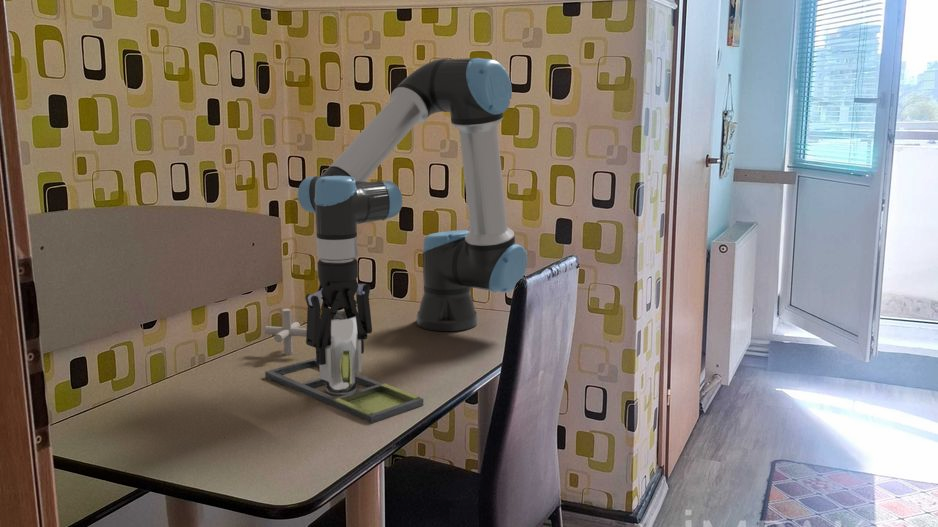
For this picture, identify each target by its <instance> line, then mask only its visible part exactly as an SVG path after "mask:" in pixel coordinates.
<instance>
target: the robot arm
mask: <svg viewBox="0 0 938 527" xmlns="http://www.w3.org/2000/svg"><path fill="white" fill-rule="evenodd" d="M512 89H513V88H512V83H511V79H510V76H509V73H508V72H507V70H506V68H505V67H504V66H502V64H501V63H500V62H499V61H497V60H495V59H492V58H482V57H471V58H450V59H448V58H439V59H436V60H432V61H429V62H428V63H425V64H424V65H422V66H420V67H418V68H417V69H416V70H414V71H413V72H411V73H410V74H409V75H407V77H406V78H404V79H403V80H402V81H401V82H400V83H399V84H398V85H397V86H396V87H395V88H394V90H392V92H391V94H390V101H388V103H387V104H386V105H385V106H384V107H383V108H382V109H381V110H380V111H379V112H378V114H377V115H375V116H374V118H373V119H372V120H371V121H370V122H369V123H368V124H367V125H366V127H364V129H363V130H362V131H361V132H360V133H359V134H358V135H357V137H356V138H354V139H353V140H352V141H351V143H350V144H349V145H348V146H347V147H346V148H345V149H344V150H343V151H342V152H341V153H340V154H339V155H338V157H336V159H335V160H334V161H333V162H332V163H331V164H330V166H329V167H328V168H327V169H326V170H325V171H324V172H323V173H322V174H321V175H320V176H318V175H314V176H309V177H307V178H304V179H303V180H302V181H301V183H300V184H299V185H298V190H297V199H298V200H297V201H298V203H299V205H300V207H301V208H302V209H303V210H304V211H305V212H308V213H312V214H315V229H316V250H317V251H316V254H317V258H318V259H319V260H318V261H317V278H318V282H319V286H318V289H317V291H316V292H314V293H312V294H310V293H308V294H305V301H306V306H307V314H306V317H307V318H306V329H307V333H306V337H305V338H306V340H305V343H306V344H305V345H307V346H309V347H312V348H315V355H316V356H315V358H316V362H317V363H318V364H319V366H320V368H319V378H321V379H323V380H326V381H328V382H329V381H332V378H331V348H329V347H327V343H328V339H329V335H330V319H334V315H335V314H336V313H337V311H339V310H338V309H340V308H343V311H345V314H346V316H347V319H348V318H352V317H354V316H355V313H356V314H357V325H358V349H357V356H356V362H355V373H356V372H357V373H361V372H362V373H363V366H362V365H363V364H362V363H363V362H362V360H363V359H362V357H363V356H362V354H364V351H365V346H364V345H365V342H364V341H365V340H367V339H368V334H371V333H372V332H373V326H372V325H373V324H372V319H371V318H372V317H371V316H372V315H371V314H372V313H371V306H370V290H371V286H370V285H369V284H366V283H361V282H359V283H358V281H357V279H358V277H359V268H358V267H359V265H358V264H359V263H358V260H357V257H358V254H359V253H358V225H360V224H366V223H372V222H377V221H385V220H388V219H392V218H395V217H396V216H397V215H398V214H399V213H400V212H401V209H402V207H403V195H402V192H401V190H400V188H399V186H398V185H397V184H396V183H394V182H393V181H389V180H384V181H383V180H376V181H367V180H368V179H369V178H370V177H371V175H372V174H373V173H374V172H375V171H376V170H377V169H378V167H379V166H380V165H382V163H383V162H384V161H385V160H386V159H387V157H388V156H389V155H390V154H391V153H392V152H393V150H394V149H395V148H396V147H397V146H398V145H399V144H400V143H401V141H402V140H403V139H404V138H405V137H406V136H407V134H408V133H409V132H410V131H411V130H412V129H413V128H414V127H415V125H416V124H422V123H424V122H425V121H426V120H427V119H428V118H429V117H430V116H431V115H433V114H436V113H442V112H443V113H449V115H450V122H451V125H453V127H454V128H456V129H457V130H458V132H459V139H460V140H459V141H460V149H461V150H460V151H461V160H462V166H463V167H462V168H463V175H464V184H465V194H466V201H467V202H466V203H467V210H468V219H469V227H470V228H469V229H470V230H465V229H464V230H463V229H462V230H459V229H458V230H448V231H440V232H435V233H434V232H433V233H430V234H427V235H426V236H425V237H424V240H423V246H422V247H423V248H422V249H423V250H422V266H423V267H422V268H423V270H422V272H423V273H422V274H423V295H422V298H421V301H420V305H419V310H418V311H417V312H416V325H417V326H418V327H420V328H421V329H425V330H430V331H437V332H457V331H463V330H469V329H472V328H474V327H476V326H477V324H478V313H477V311H476V310H475V305H474V300H473V298H472V294H471V288H473V289H479V290H484V291H488V292H492V293H503V294H504V293H510V292H512V291H514V290H515V289H514V287H515V285H516V283H517V282H518V281H519V280H520V279H521V278H522V279H523V278H524V275H525V273H526V270H527V266H528V265H527V264H528V254H527V251H526V249H525V248H524V246H522V245H520V244H519V243H516V236H515V232H514V231H513V230H512V229H511V228H510V227H509V226H508V222H507V221H508V220H507V213H506V212H507V210H506V200H505V193H504V191H505V190H504V181H503V173H502V172H503V171H502V162H501V160H502V159H501V153H500V152H501V151H500V150H501V149H500V142H499V131H498V130H499V129H498V127H499V125H500V124H501V122H502V121H503V119H504V112H505V111H507V110H508V108H509V106H510V105H511V101H510V100H511V99H512V96H513V92H512V91H513V90H512ZM355 298H356V299H355Z"/></svg>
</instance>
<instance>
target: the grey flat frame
mask: <svg viewBox="0 0 938 527" xmlns="http://www.w3.org/2000/svg"><path fill="white" fill-rule="evenodd" d="M312 367H315V368H319V369H320V366H319V364H318V363H317V362H316V357H315V358H312V359H308V360H305V361H300V362H297V363H292V364H289V365H285V366H280V367H277V368H274V369H270V370H266V371H264V377H265V378H267V379H269V380H271V381H273V382H276V383H278V384H281V385H282V386H285V387H287V388H288V389H289V388H290V389H292V390H294V391H296V392H298V393H301V394H303V395H305V396H308V397H310V398H312V399H315V400H317V401H319V402H322V403H324V404H326V405H328V406H330V407H333V408H335V409H337V410H340V411H343V412H345V413H347V414H349V415H351V416H354V417H357V418H358V419H360V420H363V421H366V422H368V423H370V424H373V423H376V422H378V421H382V420H384V419H387V418H390V417H394V416H396V415H399V414H402V413H404V412H407V411H411V410H414V409H416V408H419V407H423V406H424V398H422V397H420V396H419V395H416V394H413V393H412V392H409V391H406V390H404V389H400V388H399V387H395V386H393V385H391V384H387V383H382V382H379V381H377V380H374V379H371V378H369V377H366V376H365V375H364V376H363V375H362V374H358V373H356V372H355V378H356V383H357V384H359V385H362V386H364V387H366V388H362V389H360V390H356V391H355V392H352V393H349V394H344V395H338V396H337V397H335V396H333V395H331V394H327V393H325V392H323V391H320V390H318V389H316V388H317V387H318V388H319V387H321V386H324V385H325V386H326V383H327V381H326V380H323V379H321V378H320V377H319V378H316V379H311V380H308V381H305V382H299V381H297V380H294V379H292V378H290V377H288V376H285V374H289V373H293V372H297V371H300V370H304V369H307V368H312Z"/></svg>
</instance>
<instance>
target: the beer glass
mask: <svg viewBox="0 0 938 527" xmlns="http://www.w3.org/2000/svg"><path fill="white" fill-rule="evenodd" d="M327 347H329V348H331V378H332V381H329V382H328V381H327V383H326V384H325V391H326V392H327V393H329V395H338V396H343V395H346V394H349V393H352V392H356V391H358V383H356V378H355V373H356V371H355V362H356V356H357V349H358V325H357V314H356V313H355V316H354V317H352V318H348V319H347V316H346V314H345V311H344V310H337V313H336V314H335V315H334V319H330V335H329V339H328V343H327Z"/></svg>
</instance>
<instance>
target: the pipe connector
mask: <svg viewBox="0 0 938 527" xmlns="http://www.w3.org/2000/svg"><path fill="white" fill-rule="evenodd" d="M306 333H307V328H304V327H303V328H301V324H300V323H299V322H298V321H294V322H292V310H291V308H284V309H282V326H272V325H271V326H270V325H266V326H265V327H264V334H265V335H273V337H274V341H275V342H276V343H281V342H282V341H283V351H284V353H283V354H284V355H286V356H287V355H288V356H289V355H292V354H293V353H294V352H293V337H304V338H306Z"/></svg>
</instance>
